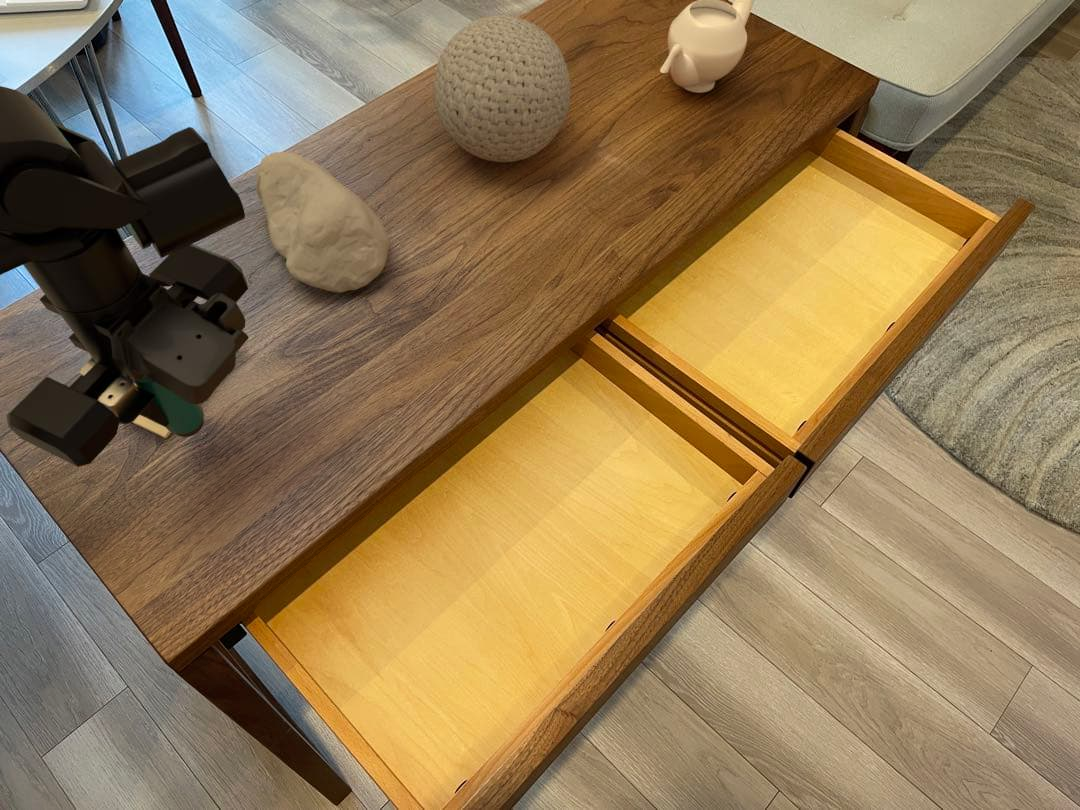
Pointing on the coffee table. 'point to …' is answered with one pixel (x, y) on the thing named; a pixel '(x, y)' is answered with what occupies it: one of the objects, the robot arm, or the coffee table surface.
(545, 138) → the decorative ball
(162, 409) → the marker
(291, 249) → the decorative stone
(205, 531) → the coffee table surface
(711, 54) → the teapot
